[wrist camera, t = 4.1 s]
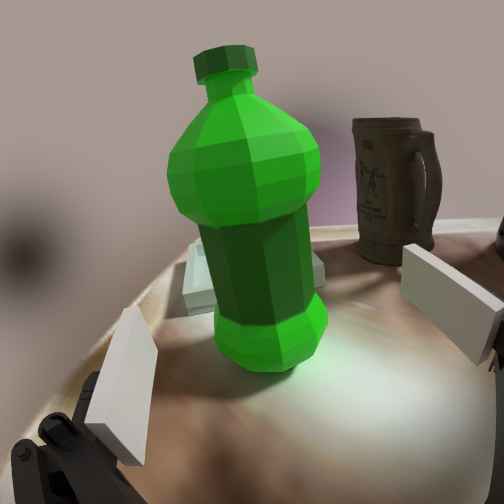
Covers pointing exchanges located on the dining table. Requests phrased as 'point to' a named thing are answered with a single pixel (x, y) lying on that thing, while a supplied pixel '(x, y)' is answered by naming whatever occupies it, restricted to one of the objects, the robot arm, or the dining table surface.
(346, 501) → the dining table surface
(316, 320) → the plastic bottle
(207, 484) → the dining table surface
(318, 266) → the tray
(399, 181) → the beer stein
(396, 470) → the dining table surface
